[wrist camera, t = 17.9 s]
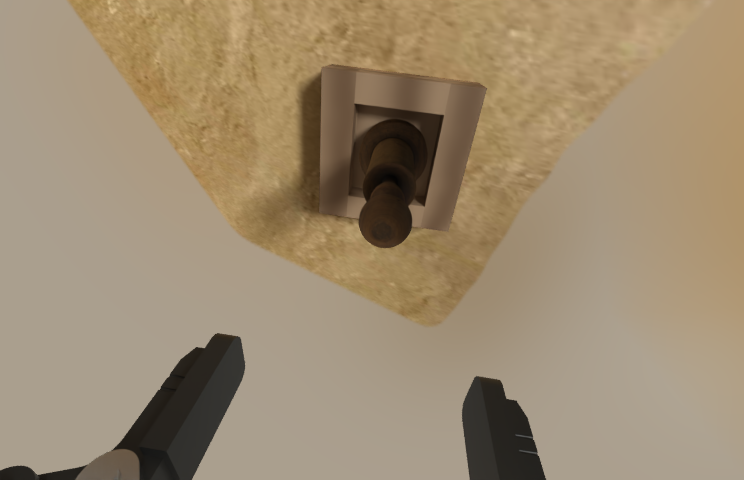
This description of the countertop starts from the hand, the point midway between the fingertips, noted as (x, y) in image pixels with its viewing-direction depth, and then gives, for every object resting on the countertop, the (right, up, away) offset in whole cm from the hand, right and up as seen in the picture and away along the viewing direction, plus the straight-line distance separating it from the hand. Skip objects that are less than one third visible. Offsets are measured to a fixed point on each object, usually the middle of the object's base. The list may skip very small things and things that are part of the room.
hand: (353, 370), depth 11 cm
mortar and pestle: (+3, +14, +22) cm, 26 cm away
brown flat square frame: (+3, +15, +24) cm, 28 cm away
